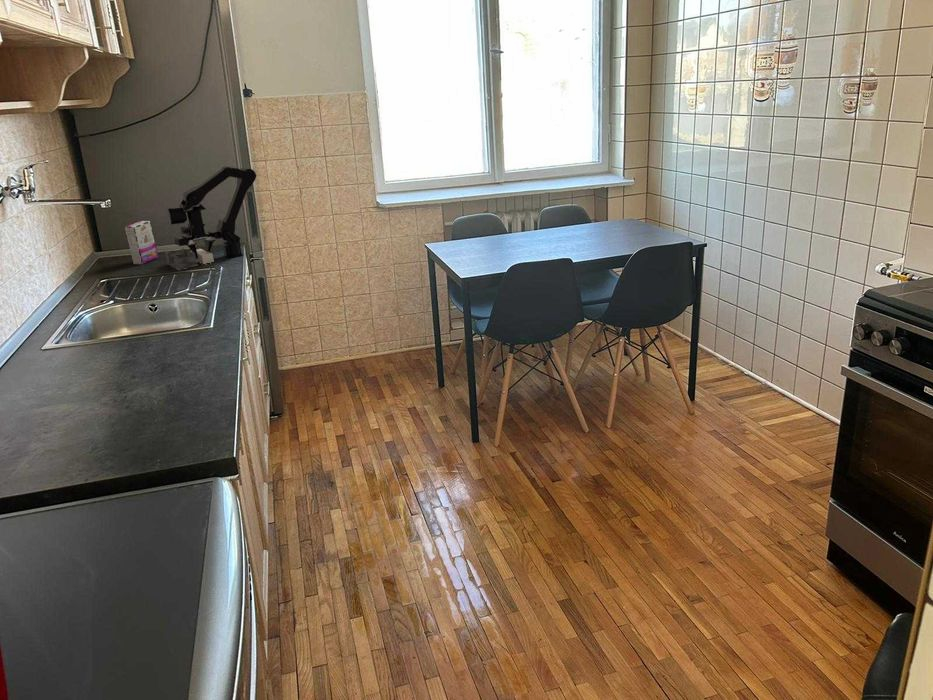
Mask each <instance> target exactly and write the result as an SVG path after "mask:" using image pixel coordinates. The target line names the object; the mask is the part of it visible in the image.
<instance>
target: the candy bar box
mask: <svg viewBox="0 0 933 700" xmlns="http://www.w3.org/2000/svg"><path fill="white" fill-rule="evenodd" d="M124 230H125V234H126V239H127V242H128V246H129V251H130V255H131V259H132V264H133V265H144V264H143V263H145V264H147V263H149V262H148V261H150V262H152V261H154V260H156V259H159V254H158V249H157V246H156V241H155V237H154V233H153V228H152V223H151V220H141V221H140V220H139V221H138V222H134V223H131V224H129V225H127V226H124ZM153 259H154V260H153ZM151 260H152V261H151ZM146 262H147V263H146Z"/></svg>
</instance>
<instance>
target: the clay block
mask: <svg viewBox="0 0 933 700" xmlns="http://www.w3.org/2000/svg"><path fill="white" fill-rule="evenodd" d="M196 250H197V255H198V259H196V261H198V262H200V263H199V264H201V263H203V264H205V265H207V264H206V263H210V264H212V263H211V262H214V263H215V260H214V255H213V253H212V252H211V251H210V252H208V251H206V249H205V250H204V248H203V249H202V248H198V249H197V248H196ZM190 252H192V251H191V250H190ZM198 262H197V263H198ZM203 264H202V265H203Z"/></svg>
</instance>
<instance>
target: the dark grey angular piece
mask: <svg viewBox="0 0 933 700" xmlns="http://www.w3.org/2000/svg"><path fill="white" fill-rule="evenodd" d="M180 249H181V252H177V253H173V254H172V253H171V252H169V251H165V252H164V255H165V260H166V262H165V264H166V265H167V264H168V265H171V266H173V267H175V268H177V269H184V268H190V267H194V266H199V264H198V262H197V261H196V256H195V253H193V252H191V251H190V252H189V256H188V253H187V249H186V248H180ZM168 265H167V266H168ZM171 266H170V267H171ZM173 267H172V268H173ZM175 268H174V269H175ZM194 268H195V267H194ZM177 269H176V270H177ZM190 269H191V268H190Z"/></svg>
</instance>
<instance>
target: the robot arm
mask: <svg viewBox="0 0 933 700" xmlns="http://www.w3.org/2000/svg"><path fill="white" fill-rule="evenodd" d="M228 178H235V179H236V187H235V191H234V193H233V196H232V199H231V201H230V204H229V206H228V209H227V212H226V215H225V216H224V218H223V219H220V218H219V219H218V222H217V225H216V226H215V229H214V230H208V232H207V233H206V231H205V226H206V225H205V222H204V221H203V213H202V211H205V210H206V209H207V207H205V206H203V205H202V203H201V202H202V201H203V200H204V199H205V197H206V196H207V195H208V193H210V192H211V191H212V190H214V189H216V188H217V187H218V186H219V185H220V184H222V183H223V182H224V181H225V180H227V179H228ZM256 179H257V173H256V172H255V170H253V169H252V168H249V167H246V166H245V167H241V168H237V167H230V166H227V165H224V166H222V167H221V169H219V170H218V171H217V172H215V173H214V174H212V176H209V177H208V178H207V179H206V180H205V181H203V182H202V183H201V184H199V185H197V186H194V187H191V188H189V189H187V190H185V191H184V192H183V194H182V200H181V202H180V204H179V206H177V207H167V216H166V217H167V221H168V223H169V225H170V226H172V225H180V224H185V223H186V222H187V221H188V223H187V226H181V227H180V229H179V230H180V233H181V236H176V237H174V244H175V245H176V246H179V247H183V246H187V247H188V248H189V249H190V252H191V251H192V252H193V253H195V256H196V259H198V255H197V245H196V243H194V242H195V241H201V240H203V242H204V247H205V251H208V252H210V253H211V250H212V246H213V245H214V242H216V240H220V239H222V240H223V242H222V243H223V244H222V245H223V246H222V251H223V256H224V257H226V258H229V259H231V258H237V257H241V256H244V255H245V254H244V253H243V252H242V247H241V237H240V236H238V235H237V234H235V232H236V220H237V218H238V215H239V213H240V210H241V207H242V204H243V202H244V200H245V197H246V194H247V193H248V190H249V189H250V188H251V187H252V186H253V184H254V183H255V181H256ZM185 235H186V236H185Z"/></svg>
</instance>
